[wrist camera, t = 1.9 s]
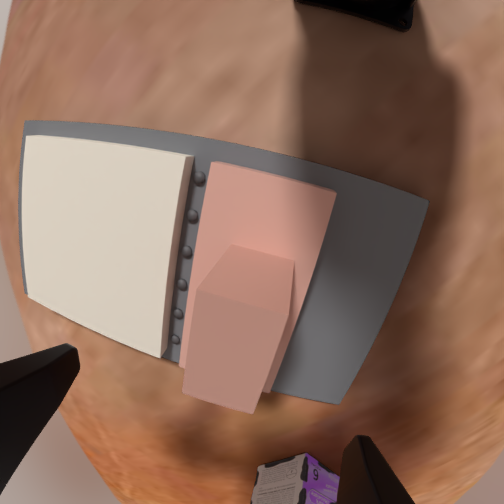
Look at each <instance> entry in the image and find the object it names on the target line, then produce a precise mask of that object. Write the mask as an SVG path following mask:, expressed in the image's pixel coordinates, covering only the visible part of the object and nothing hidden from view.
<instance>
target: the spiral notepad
mask: <svg viewBox="0 0 504 504" xmlns="http://www.w3.org/2000/svg"><path fill="white" fill-rule="evenodd" d="M193 161H194V156H191V155H186V154H180V153H175V152H169V151H163V150H158V149H152V148H145V147H139V146H132V145H125V144H118V143H111V142H103V141H95V140H86V139H77V138H67V137H56V136H44V135H31V136H26V141H25V151H24V162H23V177H22V240H23V255H24V267H25V276H26V284H27V292H28V297H29V298H31V299H33V300H35V301H36V302H38V303H40V304H42V305H44V306H45V307H47V308H49V309H51V310H53V311H55V312H57V313H59V314H61V315H63V316H64V317H66V318H68V319H70V320H72V321H74V322H76V323H79V324H81V325H83V326H85V327H87V328H89V329H91V330H93V331H95V332H98V333H100V334H102V335H104V336H106V337H109V338H111V339H113V340H116V341H118V342H120V343H123V344H125V345H127V346H130V347H132V348H135V349H137V350H140V351H142V352H145V353H147V354H150V355H152V356H155V357H158V358H161V356H162V355H163V353H164V352H165V350H166V349H167V346H168V334H169V324H170V314H171V305H172V296H173V287H174V279H175V271H176V264H177V256H178V249H179V242H180V236H181V229H182V223H183V217H184V211H185V205H186V199H187V193H188V188H189V182H190V177H191V171H192V166H193ZM205 178H206V176H205V174H204V173H203V172H201V171H199V172H196V173H195V174H194V175H193V180H194V182H195V183H197V184H200V183H203V182H204V181H205ZM186 218H187V219H188V220H189V221H190V222H194V221H195V220H197V219H198V212H197V211H196V210H189V211H188V212H187V214H186ZM181 254H182V256H184V257H189V256H190V255H191V254H192V249H191V247H190V246H187V245H186V246H184V247H182V248H181ZM176 286H177V288H178V289H180V290H184V289H185V288H186V287H187V282H186V280H184V279H179V280H178V281H177V282H176ZM173 316H174V317H175V318H177V319H180V318H181V317H182V316H183V311H182V310H181V309H179V308H176V309H175V310H174V311H173ZM170 341H171V342H172V343H173V344H178V343H179V341H180V338H179V337H178V336H177V335H172V336H171V337H170Z"/></svg>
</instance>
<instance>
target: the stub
mask: <svg viewBox="0 0 504 504" xmlns="http://www.w3.org/2000/svg"><path fill="white" fill-rule="evenodd" d="M336 194H337V193H336V192H335V191H334V190H332V189H328V188H325V187H321V186H318V185H314V184H311V183H307V182H303V181H299V180H296V179H292V178H288V177H284V176H280V175H276V174H272V173H268V172H264V171H260V170H256V169H251V168H247V167H243V166H238V165H234V164H229V163H225V162H220V161H215V162H211V166H210V171H209V175H208V180H207V186H206V191H205V196H204V201H203V206H202V212H201V217H200V223H199V229H198V234H197V240H196V246H195V252H194V258H193V265H192V271H191V277H190V284H189V291H188V298H187V305H186V312H185V319H184V327H183V335H182V343H181V351H180V360H179V367H182V368H185V372H184V381H183V389H182V393H183V394H186V395H189V396H192V397H195V398H198V399H201V400H204V401H208V402H211V403H214V404H217V405H221V406H224V407H227V408H231V409H234V410H238V411H242V412H246V413H249V414H253V413H254V410H255V408H256V405H257V402H258V400H259V397H260V395H261V392H266V393H270V391H271V388H272V385H273V383H274V380H275V378H276V375H277V373H278V370H279V367H280V365H281V362H282V360H283V357H284V354H285V352H286V349H287V346H288V343H289V341H290V338H291V335H292V332H293V330H294V327H295V324H296V321H297V318H298V316H299V313H300V310H301V307H302V304H303V301H304V298H305V295H306V292H307V289H308V286H309V283H310V280H311V277H312V274H313V271H314V268H315V265H316V262H317V258H318V255H319V252H320V249H321V246H322V242H323V239H324V236H325V232H326V229H327V226H328V222H329V219H330V215H331V212H332V209H333V205H334V201H335V198H336Z"/></svg>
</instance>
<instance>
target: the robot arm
mask: <svg viewBox="0 0 504 504" xmlns="http://www.w3.org/2000/svg"><path fill="white" fill-rule="evenodd" d="M295 1H296V2H298V3H302V4H308V5H313V6H317V7H322V8H326V9H330V10H335V11H338V12H342V13H346V14H350V15H353V16H357V17H360V18H363V19H366V20H370V21H373V22H376V23H379V24H382V25H384V26H387V27H390V28H393V29H395V30H398V31H401V32H407V31H408V30H409V29H410V28H411V26H412V18H413V7H414V3H415V2H416V1H417V0H295ZM399 21H402V22H404V23H405V26H403V25H401V24H400V23H399ZM79 370H80V361H79V355H78V350H77V348H76V347H74V346H72V345H70V344H68V343H65V344H62V345H58V346H55V347H52V348H49V349H46V350H43V351H39V352H36V353H33V354H30V355H26V356H24V357H20V358H17V359H13V360H10V361H7V362H3V363H0V495H1V493H2V491H3V489H4V488H5V486H6V484H7V483H8V481H9V480H10V478H11V476H12V475H13V473H14V472H15V470H16V469H17V467H18V465H19V464H20V462H21V461H22V459H23V458H24V456H25V455H26V453H27V452H28V450H29V449H30V447H31V446H32V444H33V443H34V441H35V440H36V438H37V437H38V436H39V434H40V433H41V431H42V430H43V428H44V427H45V425H46V424H47V423H48V421H49V420H50V418H51V417H52V416H53V414H54V413H55V411H56V410H57V409H58V407H59V406H60V404H61V402H62V401H63V399H64V397H65V395H66V394H67V392H68V390H69V388H70V387H71V385H72V383H73V381H74V380H75V378H76V376H77V374H78V373H79ZM337 504H415V503H414V501H413V500H412V498H411V497H410V495H409V494H408V492H407V491H406V489H405V488H404V486H403V485H402V484H401V482H400V481H399V479H398V478H397V476H396V475H395V473H394V472H393V470H392V469H391V467H390V466H389V464H388V463H387V461H386V460H385V458H384V457H383V455H382V454H381V453H380V451H379V450H378V448H377V447H376V445H375V444H374V442H373V441H372V439H371V438H370V437H369V436H366V435H356V436H355V437H354V438H353V439H352V441H351V442H350V443H349V444H348V446H347V447H346V448H345V450H344V452H343V457H342V465H341V472H340V478H339V485H338V491H337Z"/></svg>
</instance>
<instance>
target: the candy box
mask: <svg viewBox="0 0 504 504" xmlns="http://www.w3.org/2000/svg"><path fill="white" fill-rule="evenodd" d="M339 478H340V477H339V476H337V475H336V474H335V473H333V472H332V471H331V470H329V469H328V468H326V467H325V466H324V465H322V464H321V463H320V462H318V461H317V460H316V459H314V458H313V457H312V456H310V455H309V454H308V453H304V454H301V455H297V456H293V457H290V458H287V459H283V460H279V461H275V462H271V463H267V464H264V465H260V466H258V469H257V476H256V481H255V485H254V489H253V493H252V498H251V503H250V504H337V491H338V485H339Z"/></svg>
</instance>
